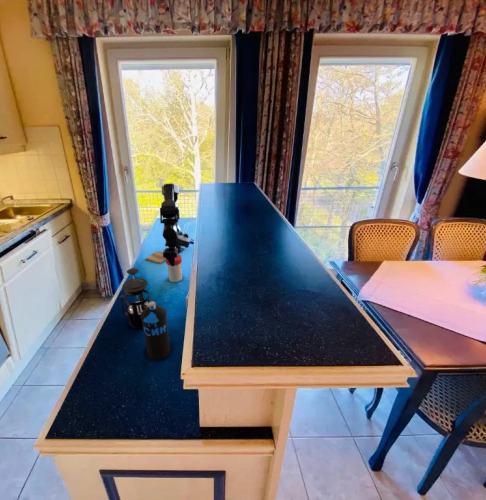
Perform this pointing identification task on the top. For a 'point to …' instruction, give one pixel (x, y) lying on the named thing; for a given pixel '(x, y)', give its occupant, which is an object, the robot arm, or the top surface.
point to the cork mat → (156, 257)
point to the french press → (135, 289)
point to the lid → (176, 260)
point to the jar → (175, 273)
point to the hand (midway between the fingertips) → (173, 262)
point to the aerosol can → (156, 331)
